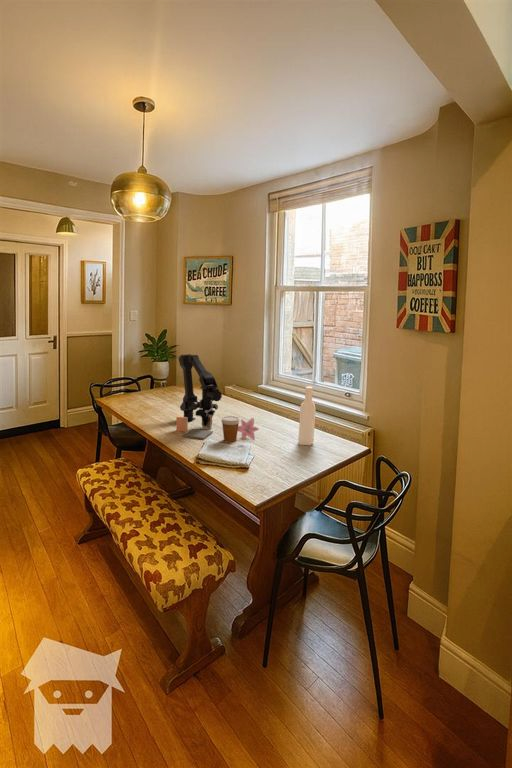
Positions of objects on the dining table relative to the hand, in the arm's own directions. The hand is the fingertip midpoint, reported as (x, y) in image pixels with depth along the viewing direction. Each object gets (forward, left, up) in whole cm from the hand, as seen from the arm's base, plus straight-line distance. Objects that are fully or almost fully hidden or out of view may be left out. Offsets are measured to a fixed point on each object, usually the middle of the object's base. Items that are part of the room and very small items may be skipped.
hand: (206, 424), depth 238 cm
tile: (+9, -11, -3) cm, 14 cm away
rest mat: (+12, 0, -2) cm, 12 cm away
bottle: (+3, +57, -3) cm, 57 cm away
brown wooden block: (0, 0, -2) cm, 2 cm away
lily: (+6, +26, -3) cm, 26 cm away
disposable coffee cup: (+14, +19, -3) cm, 24 cm away
